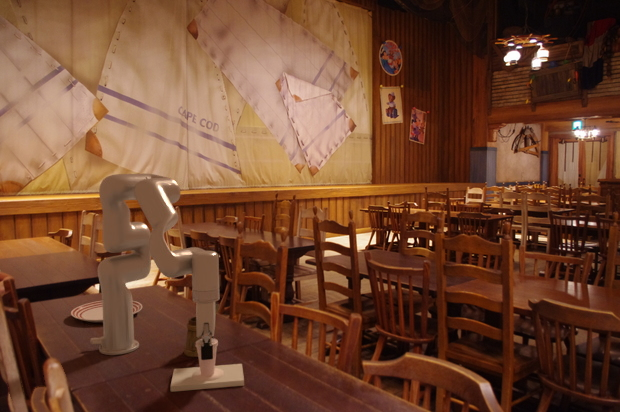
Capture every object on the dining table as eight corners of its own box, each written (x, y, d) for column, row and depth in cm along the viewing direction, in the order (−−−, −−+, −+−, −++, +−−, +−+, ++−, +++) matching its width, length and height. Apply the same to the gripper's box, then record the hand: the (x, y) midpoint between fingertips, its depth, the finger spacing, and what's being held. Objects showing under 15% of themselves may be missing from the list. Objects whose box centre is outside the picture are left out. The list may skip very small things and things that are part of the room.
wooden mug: (207, 362, 159) (206, 306, 158) (178, 353, 167) (177, 299, 165) (227, 353, 166) (226, 299, 165) (199, 345, 174) (197, 293, 173)
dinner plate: (156, 312, 214) (156, 304, 214) (100, 330, 191) (99, 322, 191) (114, 303, 228) (113, 296, 228) (56, 319, 205) (56, 311, 205)
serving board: (170, 391, 139) (170, 386, 139) (174, 373, 151) (174, 368, 150) (244, 385, 142) (243, 379, 142) (242, 368, 154) (241, 363, 154)
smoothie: (213, 379, 143) (212, 331, 141) (192, 377, 144) (191, 330, 142) (222, 370, 149) (220, 323, 147) (201, 368, 150) (200, 322, 149)
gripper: (193, 287, 152) (195, 343, 154) (191, 303, 135) (192, 365, 137) (219, 286, 154) (220, 341, 155) (219, 301, 137) (220, 363, 138)
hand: (207, 352), depth 146 cm, fingers open, 9 cm apart
